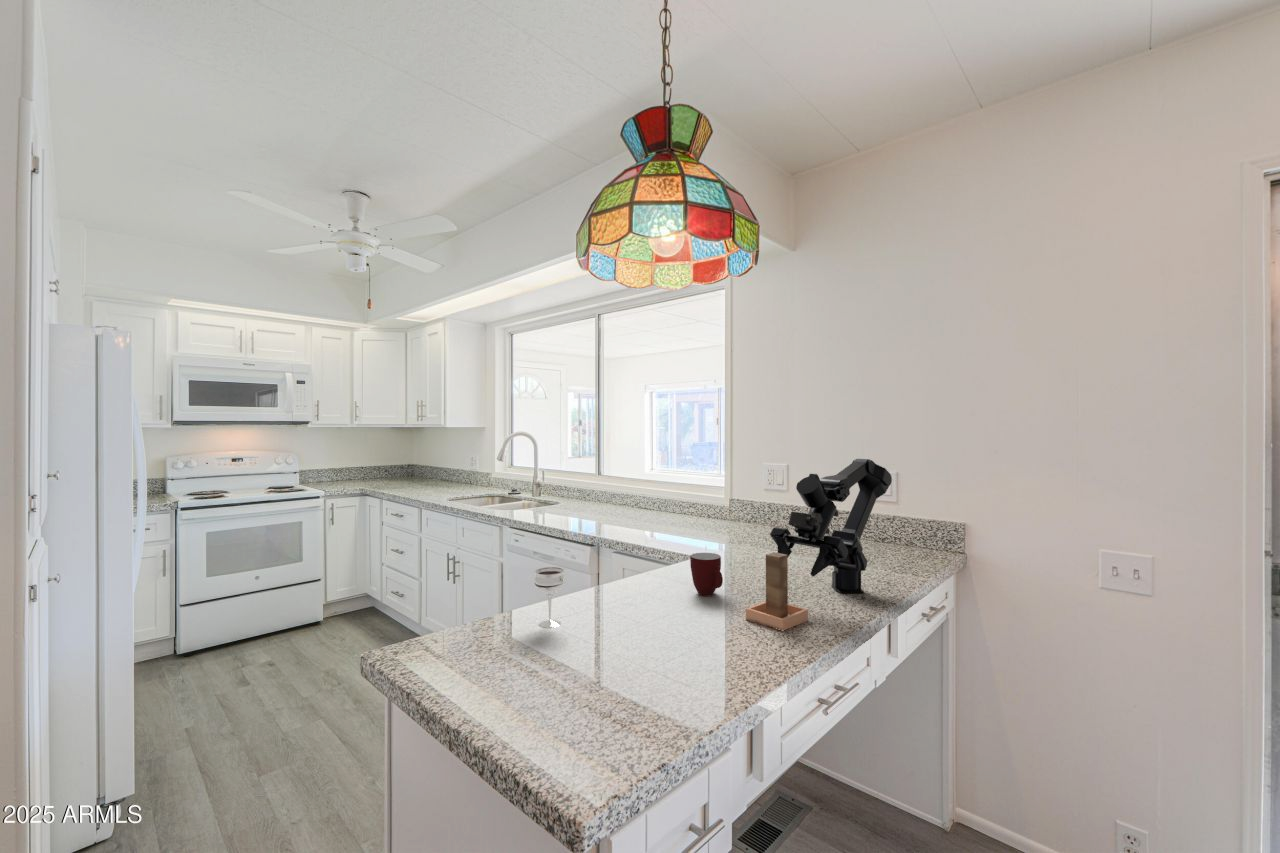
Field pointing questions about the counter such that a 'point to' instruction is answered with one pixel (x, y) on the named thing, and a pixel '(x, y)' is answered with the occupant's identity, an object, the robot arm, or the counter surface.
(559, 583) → the wineglass
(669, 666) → the counter surface
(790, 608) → the dish
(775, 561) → the wood grain bar
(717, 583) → the mug
